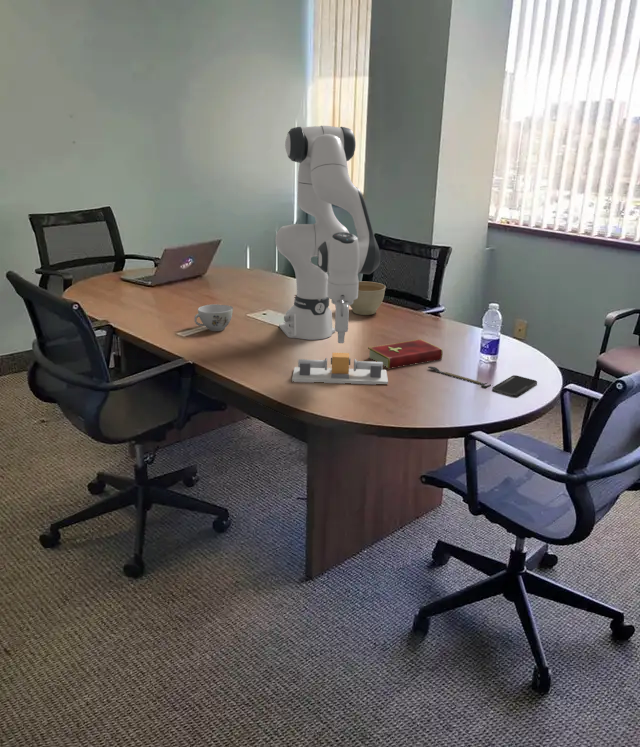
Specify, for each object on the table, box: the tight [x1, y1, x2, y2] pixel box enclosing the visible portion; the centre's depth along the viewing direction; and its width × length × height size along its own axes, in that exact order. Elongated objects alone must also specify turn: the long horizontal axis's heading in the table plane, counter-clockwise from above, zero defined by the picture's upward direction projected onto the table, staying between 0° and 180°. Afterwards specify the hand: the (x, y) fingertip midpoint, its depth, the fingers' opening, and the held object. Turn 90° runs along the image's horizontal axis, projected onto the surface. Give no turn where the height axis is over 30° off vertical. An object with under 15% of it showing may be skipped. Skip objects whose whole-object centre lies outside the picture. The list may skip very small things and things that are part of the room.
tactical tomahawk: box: [427, 366, 492, 389], centre depth 202 cm, size 21×7×1 cm, turn 46°
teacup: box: [194, 303, 234, 332], centre depth 241 cm, size 15×12×8 cm
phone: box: [492, 374, 538, 398], centre depth 194 cm, size 8×1×15 cm
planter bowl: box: [349, 280, 386, 316], centre depth 267 cm, size 16×16×11 cm
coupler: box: [330, 352, 351, 374], centre depth 198 cm, size 6×4×6 cm
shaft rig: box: [291, 357, 389, 385], centre depth 198 cm, size 28×10×6 cm, turn 88°
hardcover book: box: [368, 338, 443, 369], centre depth 216 cm, size 12×21×4 cm, turn 119°
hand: (341, 337), depth 195 cm, fingers open, 8 cm apart
